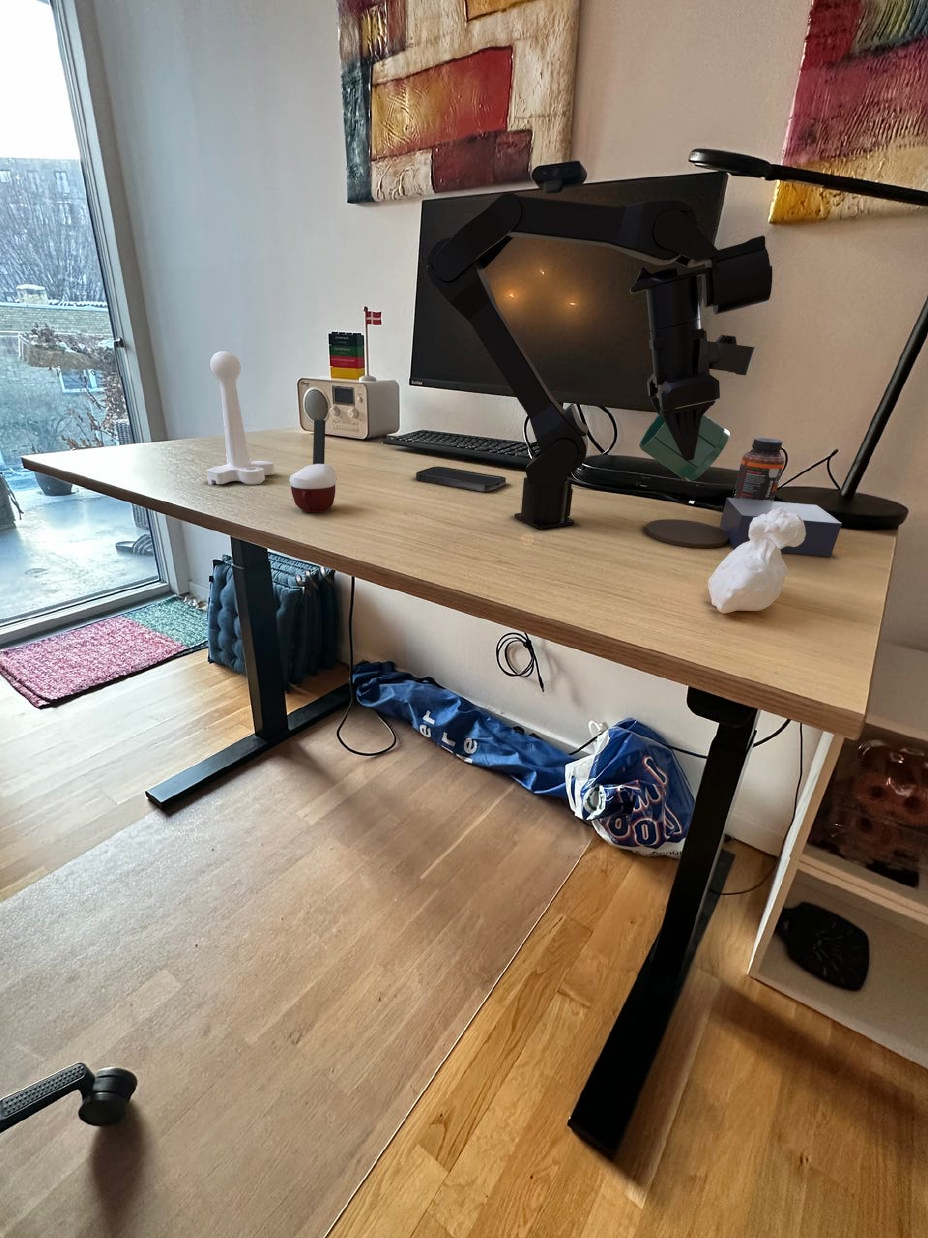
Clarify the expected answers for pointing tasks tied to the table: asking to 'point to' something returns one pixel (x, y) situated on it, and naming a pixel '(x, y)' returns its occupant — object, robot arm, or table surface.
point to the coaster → (687, 533)
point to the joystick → (234, 429)
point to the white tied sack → (756, 564)
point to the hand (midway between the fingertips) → (684, 454)
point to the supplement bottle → (760, 471)
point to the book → (815, 519)
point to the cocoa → (315, 478)
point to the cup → (667, 452)
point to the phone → (461, 478)
